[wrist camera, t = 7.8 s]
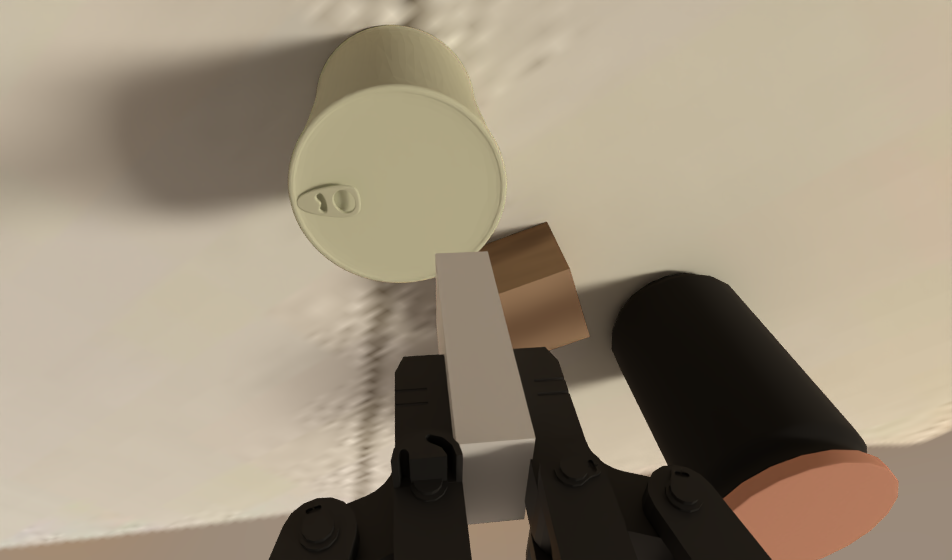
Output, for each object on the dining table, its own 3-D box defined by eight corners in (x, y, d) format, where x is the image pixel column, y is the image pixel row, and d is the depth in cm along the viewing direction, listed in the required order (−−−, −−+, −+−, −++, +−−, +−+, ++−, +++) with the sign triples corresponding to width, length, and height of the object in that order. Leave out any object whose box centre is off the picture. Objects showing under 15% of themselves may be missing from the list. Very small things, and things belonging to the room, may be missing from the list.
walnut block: (466, 250, 39) (477, 301, 34) (546, 221, 38) (569, 268, 33) (492, 311, 42) (505, 365, 37) (566, 285, 42) (589, 336, 37)
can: (300, 29, 29) (256, 96, 20) (471, 19, 30) (510, 78, 20) (332, 187, 35) (310, 301, 25) (476, 174, 35) (510, 280, 26)
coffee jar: (636, 385, 49) (741, 592, 35) (584, 313, 43) (683, 524, 29) (748, 326, 47) (911, 522, 32) (708, 241, 41) (886, 433, 26)
